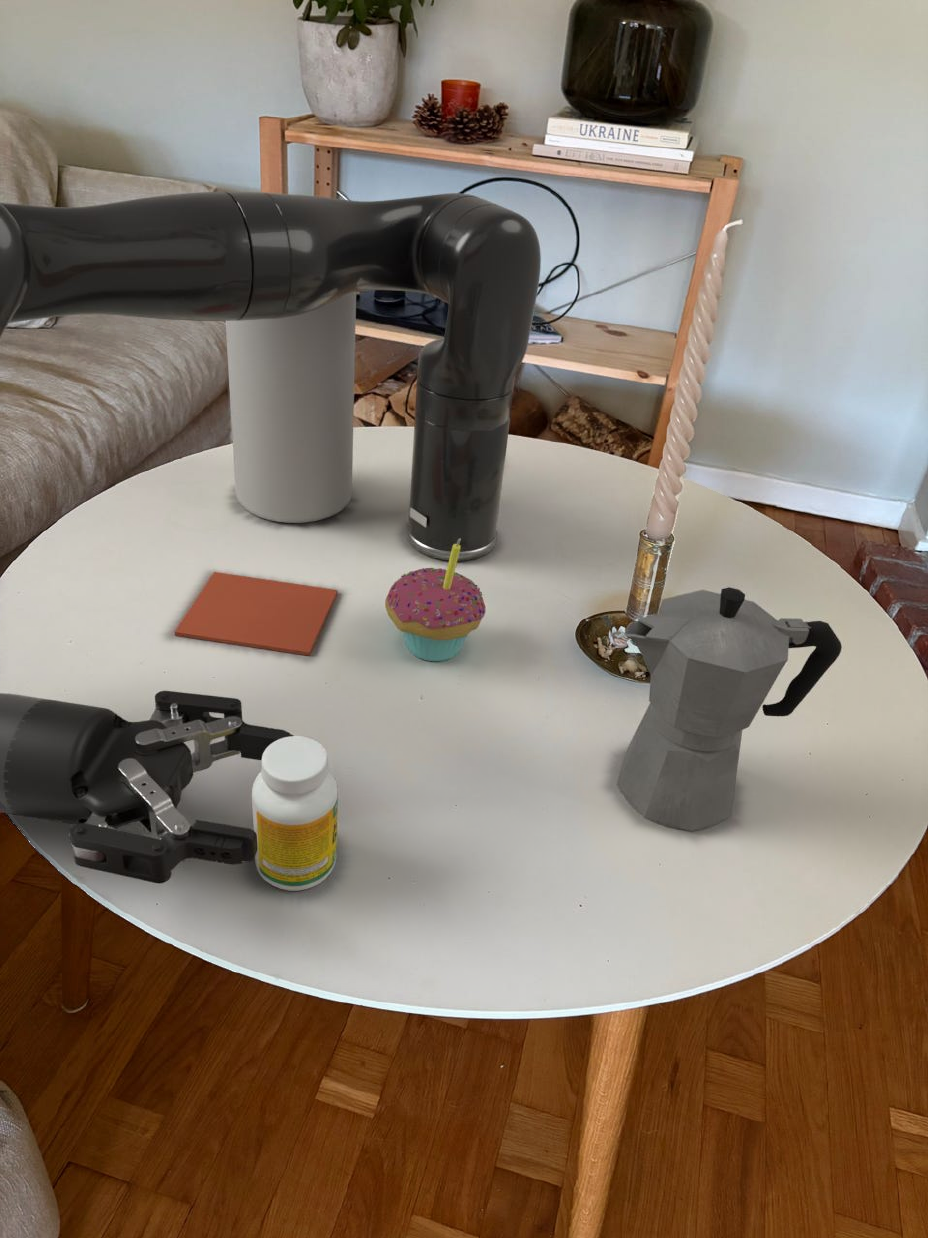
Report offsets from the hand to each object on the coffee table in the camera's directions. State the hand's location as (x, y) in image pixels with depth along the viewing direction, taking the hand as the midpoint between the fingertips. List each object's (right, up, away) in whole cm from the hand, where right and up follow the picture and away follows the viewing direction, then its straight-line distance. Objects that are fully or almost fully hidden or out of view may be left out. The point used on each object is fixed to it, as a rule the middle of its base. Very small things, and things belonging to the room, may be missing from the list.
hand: (276, 795), depth 61 cm
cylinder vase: (-7, +24, +44) cm, 51 cm away
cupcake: (+9, +9, +24) cm, 27 cm away
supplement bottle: (+1, -5, +3) cm, 6 cm away
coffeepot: (+29, -2, +12) cm, 32 cm away
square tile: (-7, +12, +26) cm, 29 cm away
